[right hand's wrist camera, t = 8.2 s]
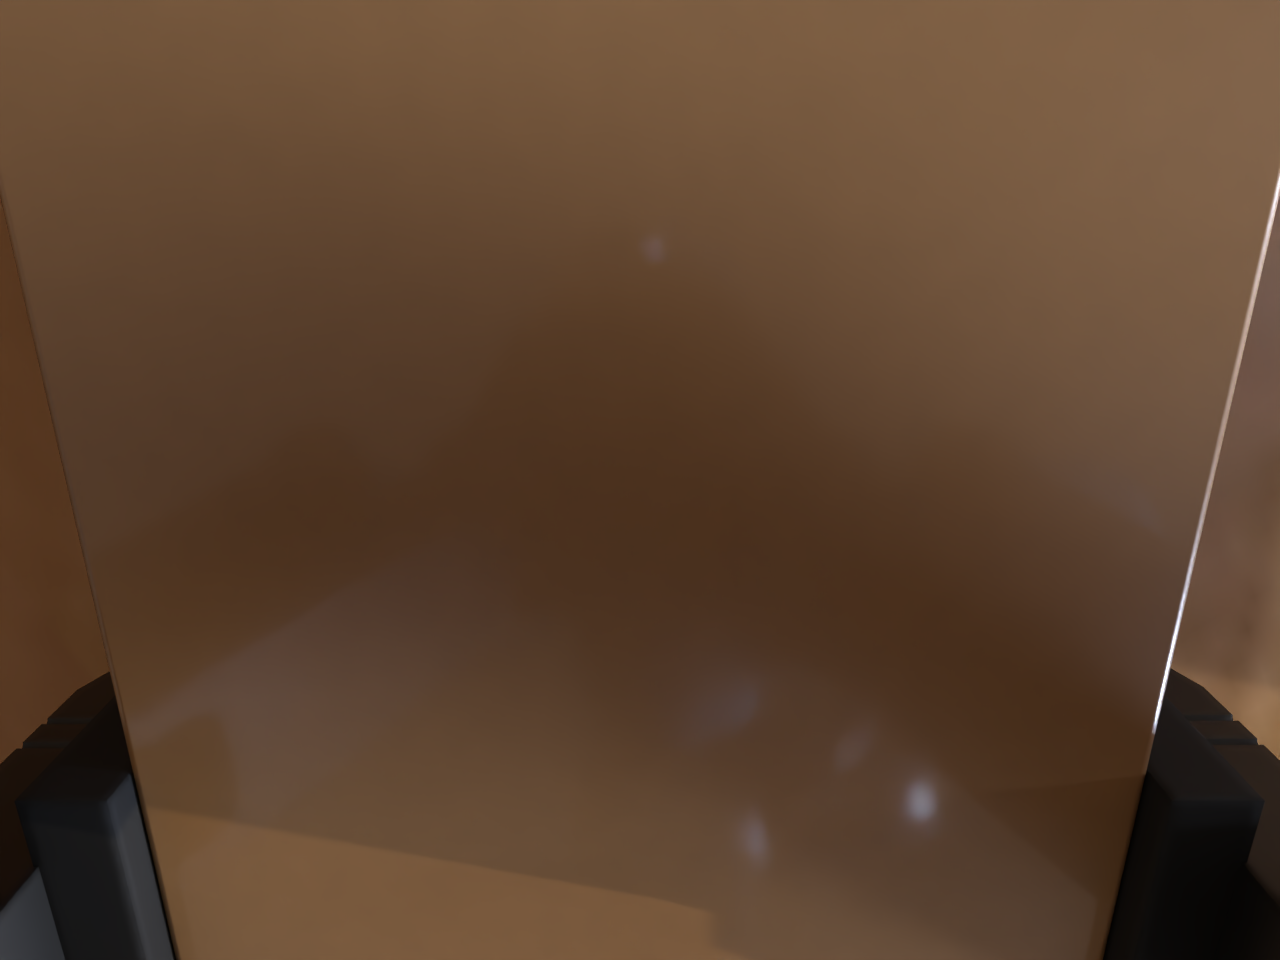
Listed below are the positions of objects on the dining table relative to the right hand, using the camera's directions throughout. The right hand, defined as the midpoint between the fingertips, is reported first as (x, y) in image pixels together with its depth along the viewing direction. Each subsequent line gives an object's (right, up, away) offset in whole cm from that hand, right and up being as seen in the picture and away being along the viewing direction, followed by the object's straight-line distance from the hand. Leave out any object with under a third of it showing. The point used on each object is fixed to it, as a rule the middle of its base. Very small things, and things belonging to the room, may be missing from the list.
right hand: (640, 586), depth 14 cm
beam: (0, +32, -11) cm, 34 cm away
